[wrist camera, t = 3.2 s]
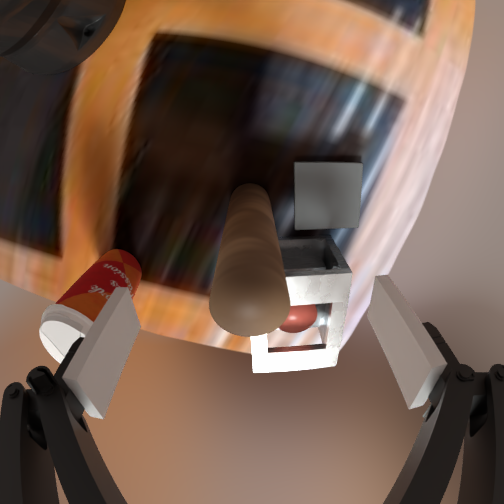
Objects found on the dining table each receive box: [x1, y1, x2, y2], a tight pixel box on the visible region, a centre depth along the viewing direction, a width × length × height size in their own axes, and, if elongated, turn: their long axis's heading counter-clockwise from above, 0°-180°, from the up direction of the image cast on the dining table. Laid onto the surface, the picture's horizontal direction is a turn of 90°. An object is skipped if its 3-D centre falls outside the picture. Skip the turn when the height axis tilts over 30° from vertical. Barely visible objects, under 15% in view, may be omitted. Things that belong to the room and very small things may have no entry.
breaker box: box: [251, 235, 352, 373], centre depth 30 cm, size 12×9×8 cm
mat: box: [294, 162, 363, 230], centre depth 29 cm, size 7×7×1 cm
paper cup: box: [39, 249, 142, 364], centre depth 27 cm, size 8×8×14 cm
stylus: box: [209, 183, 291, 337], centre depth 22 cm, size 4×4×17 cm
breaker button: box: [279, 304, 317, 333], centre depth 30 cm, size 4×4×3 cm
